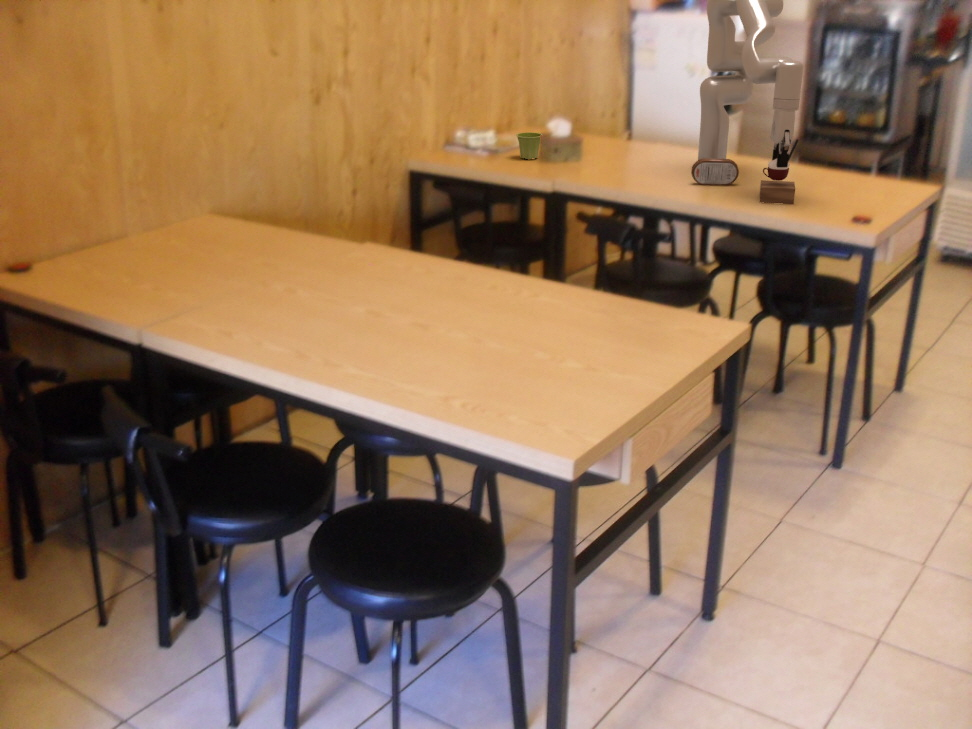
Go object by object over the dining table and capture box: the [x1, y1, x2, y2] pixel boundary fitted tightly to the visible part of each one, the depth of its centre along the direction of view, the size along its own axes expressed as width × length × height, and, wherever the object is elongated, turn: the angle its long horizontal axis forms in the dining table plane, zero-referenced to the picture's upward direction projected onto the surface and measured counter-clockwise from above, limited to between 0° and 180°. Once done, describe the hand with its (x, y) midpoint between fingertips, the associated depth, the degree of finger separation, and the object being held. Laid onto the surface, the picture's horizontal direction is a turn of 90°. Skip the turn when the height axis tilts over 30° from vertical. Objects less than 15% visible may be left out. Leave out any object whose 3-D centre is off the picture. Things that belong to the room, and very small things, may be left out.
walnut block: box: [759, 179, 796, 205], centre depth 317 cm, size 10×10×5 cm
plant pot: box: [516, 131, 543, 160], centre depth 375 cm, size 9×9×9 cm
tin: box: [690, 158, 740, 186], centre depth 335 cm, size 15×3×8 cm, turn 84°
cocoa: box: [762, 138, 799, 181], centre depth 313 cm, size 10×6×12 cm, turn 62°
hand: (779, 164), depth 314 cm, fingers closed on cocoa, 5 cm apart
